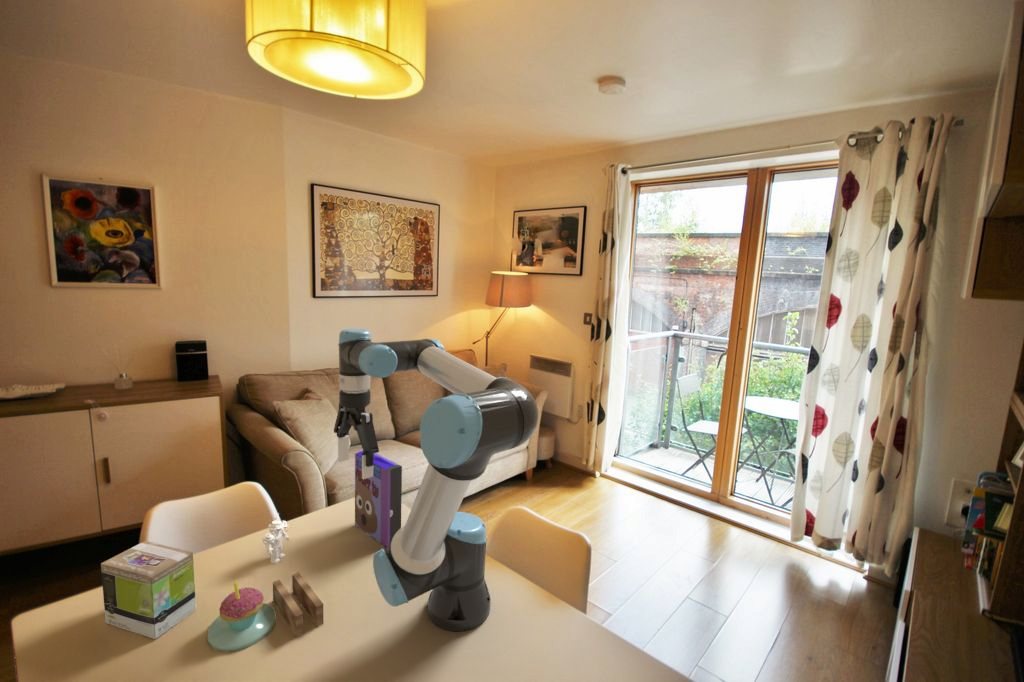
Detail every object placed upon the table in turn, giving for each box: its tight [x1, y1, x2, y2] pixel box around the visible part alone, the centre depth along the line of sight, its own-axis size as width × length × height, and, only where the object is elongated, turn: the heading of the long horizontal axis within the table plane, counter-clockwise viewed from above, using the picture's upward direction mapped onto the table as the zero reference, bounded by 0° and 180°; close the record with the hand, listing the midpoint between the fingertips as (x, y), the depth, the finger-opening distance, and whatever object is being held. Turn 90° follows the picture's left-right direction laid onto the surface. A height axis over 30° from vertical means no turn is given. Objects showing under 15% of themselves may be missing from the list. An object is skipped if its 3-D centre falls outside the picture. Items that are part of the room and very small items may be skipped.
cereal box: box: [354, 450, 403, 548], centre depth 140 cm, size 17×5×24 cm, turn 50°
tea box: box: [100, 540, 197, 640], centre depth 103 cm, size 15×10×15 cm, turn 74°
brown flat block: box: [291, 571, 324, 628], centre depth 109 cm, size 15×2×5 cm, turn 45°
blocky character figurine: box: [262, 512, 290, 564], centre depth 126 cm, size 9×4×12 cm, turn 173°
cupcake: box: [219, 579, 264, 631], centre depth 101 cm, size 9×8×12 cm
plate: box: [207, 602, 276, 652], centre depth 102 cm, size 13×13×1 cm
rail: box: [272, 579, 304, 638], centre depth 106 cm, size 15×2×5 cm, turn 45°
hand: (355, 468), depth 120 cm, fingers open, 13 cm apart
